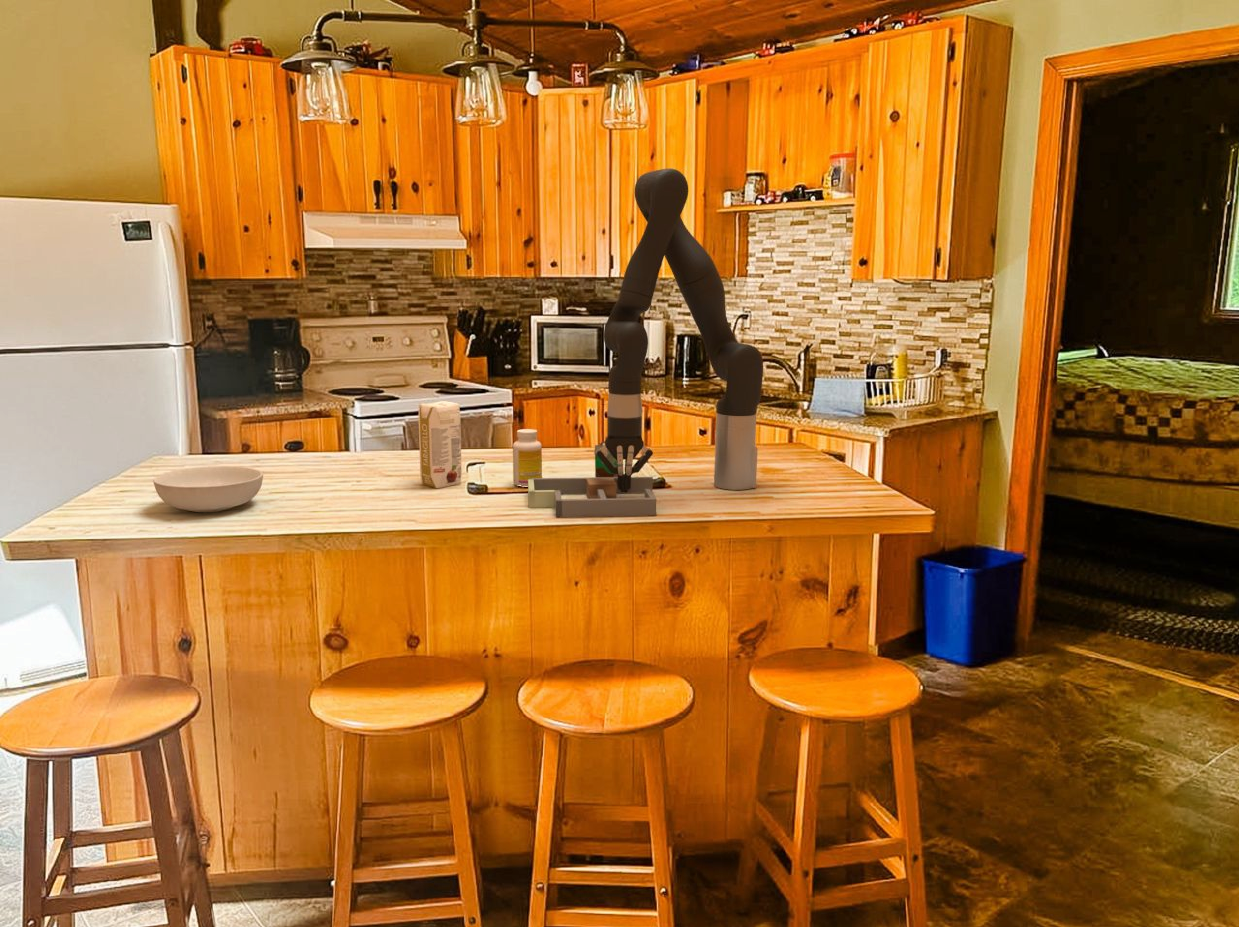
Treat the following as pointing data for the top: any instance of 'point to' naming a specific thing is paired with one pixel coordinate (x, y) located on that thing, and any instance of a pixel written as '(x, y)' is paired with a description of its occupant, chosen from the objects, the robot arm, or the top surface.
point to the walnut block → (600, 487)
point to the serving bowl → (208, 487)
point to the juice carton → (440, 444)
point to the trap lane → (550, 491)
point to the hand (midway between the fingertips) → (623, 491)
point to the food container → (599, 465)
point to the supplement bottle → (526, 457)
